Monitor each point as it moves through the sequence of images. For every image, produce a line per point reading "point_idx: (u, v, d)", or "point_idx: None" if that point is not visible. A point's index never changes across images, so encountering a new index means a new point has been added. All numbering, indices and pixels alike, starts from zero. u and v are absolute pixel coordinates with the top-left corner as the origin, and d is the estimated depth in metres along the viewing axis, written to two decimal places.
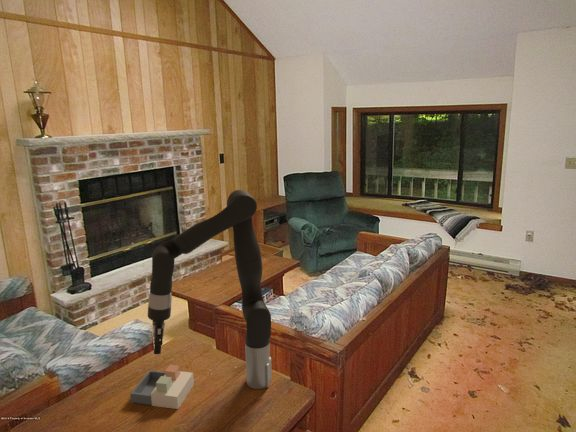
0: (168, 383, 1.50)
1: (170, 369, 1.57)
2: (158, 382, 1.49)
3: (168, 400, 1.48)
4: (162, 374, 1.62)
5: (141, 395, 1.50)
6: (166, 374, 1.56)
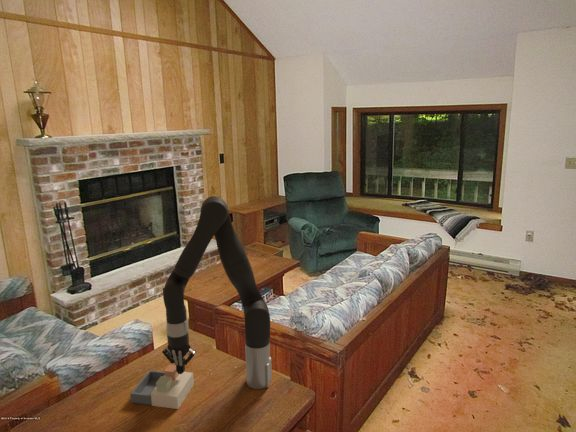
0: (168, 383, 1.50)
1: (170, 369, 1.57)
2: (158, 382, 1.49)
3: (168, 400, 1.48)
4: (162, 374, 1.62)
5: (141, 395, 1.50)
6: (165, 374, 1.56)
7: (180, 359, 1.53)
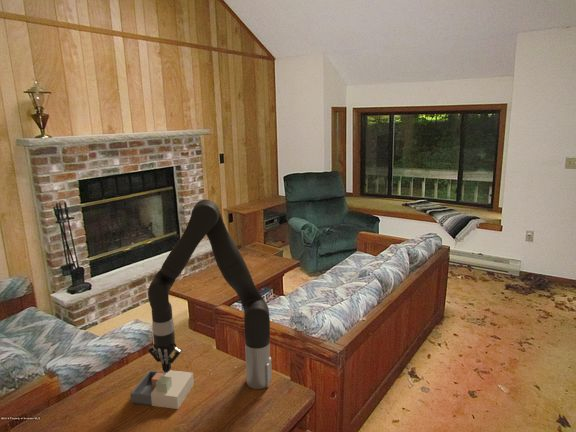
0: (168, 383, 1.50)
1: None
2: (158, 382, 1.49)
3: (168, 400, 1.48)
4: None
5: (141, 395, 1.50)
6: None
7: (166, 357, 1.54)
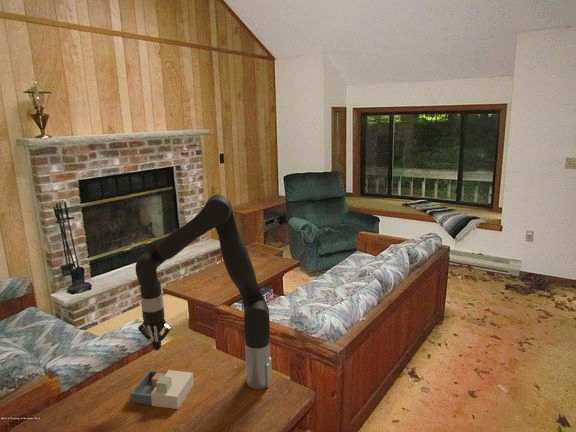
0: (168, 383, 1.50)
1: None
2: (158, 382, 1.49)
3: (168, 400, 1.48)
4: None
5: (141, 395, 1.50)
6: None
7: (156, 335, 1.53)
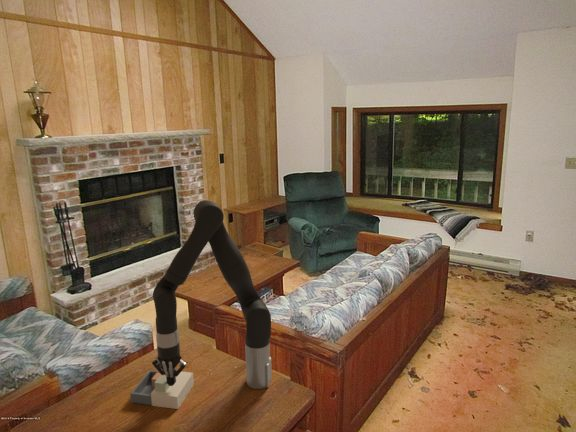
0: (166, 383, 1.50)
1: None
2: (157, 382, 1.49)
3: (168, 400, 1.48)
4: None
5: (141, 395, 1.50)
6: None
7: (171, 370, 1.47)
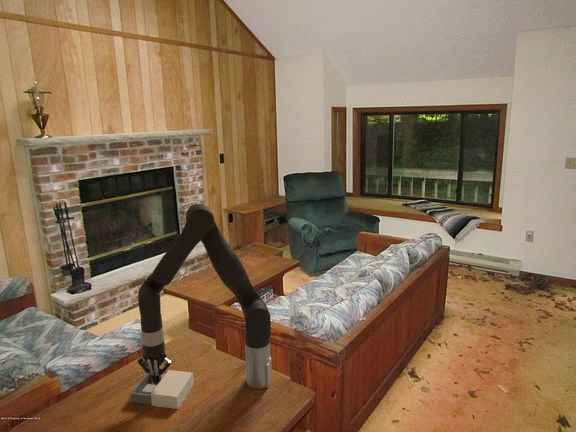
0: (146, 388, 1.52)
1: None
2: None
3: (168, 400, 1.48)
4: None
5: (141, 395, 1.50)
6: None
7: (156, 369, 1.48)
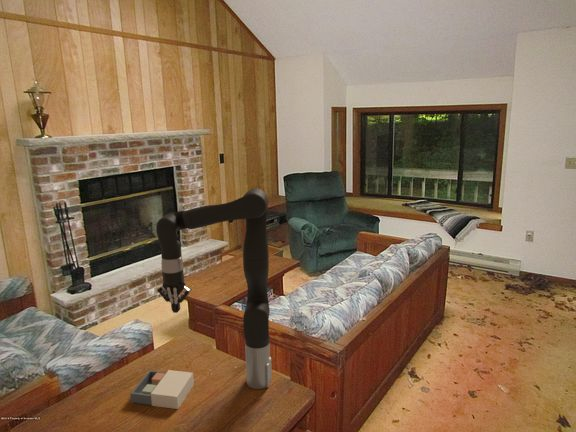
0: (146, 388, 1.52)
1: None
2: None
3: (168, 400, 1.48)
4: None
5: (141, 395, 1.50)
6: None
7: (175, 297, 1.54)
